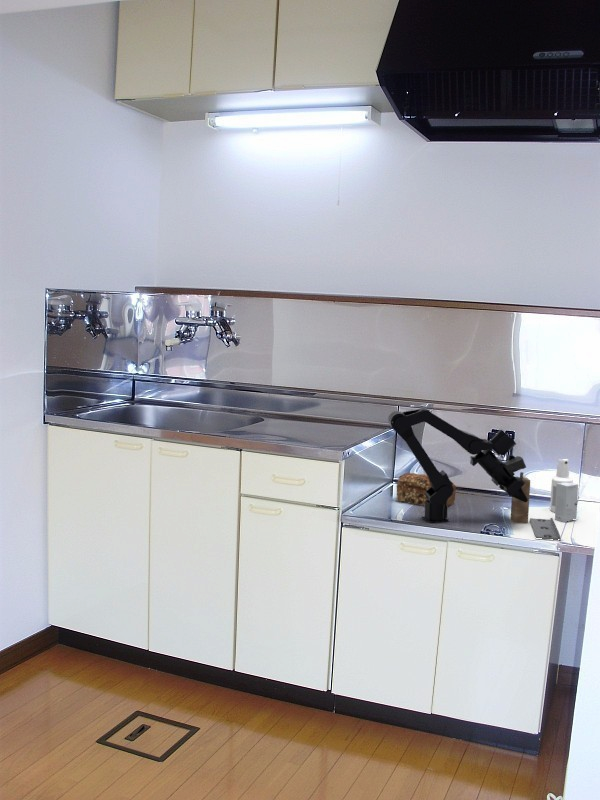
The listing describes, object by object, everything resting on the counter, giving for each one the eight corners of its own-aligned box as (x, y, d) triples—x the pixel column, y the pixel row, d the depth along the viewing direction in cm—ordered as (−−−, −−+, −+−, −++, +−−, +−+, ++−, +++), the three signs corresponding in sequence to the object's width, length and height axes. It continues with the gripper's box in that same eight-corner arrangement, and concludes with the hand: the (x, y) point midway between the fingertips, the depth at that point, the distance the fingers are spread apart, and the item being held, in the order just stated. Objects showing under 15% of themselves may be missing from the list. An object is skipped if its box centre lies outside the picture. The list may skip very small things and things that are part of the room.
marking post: (514, 522, 267) (517, 473, 265) (510, 519, 272) (513, 471, 270) (527, 522, 267) (530, 474, 265) (523, 519, 272) (526, 471, 270)
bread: (395, 502, 293) (396, 474, 291) (408, 496, 301) (409, 469, 300) (444, 510, 283) (446, 481, 281) (456, 504, 292) (457, 476, 290)
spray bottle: (557, 514, 280) (560, 461, 278) (546, 509, 286) (549, 457, 284) (575, 513, 282) (578, 461, 279) (563, 508, 288) (566, 457, 286)
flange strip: (560, 540, 248) (560, 536, 247) (535, 539, 249) (536, 534, 249) (552, 522, 269) (552, 517, 269) (529, 520, 270) (530, 516, 270)
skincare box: (564, 522, 269) (567, 486, 267) (553, 519, 273) (555, 483, 271) (577, 520, 272) (579, 484, 271) (566, 517, 276) (568, 481, 275)
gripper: (519, 453, 257) (552, 489, 259) (502, 443, 276) (533, 476, 278) (493, 478, 258) (526, 513, 260) (478, 466, 276) (509, 499, 278)
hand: (524, 499), depth 269 cm, fingers closed on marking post, 4 cm apart
